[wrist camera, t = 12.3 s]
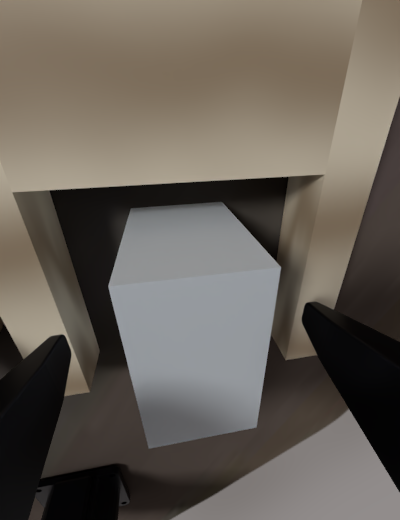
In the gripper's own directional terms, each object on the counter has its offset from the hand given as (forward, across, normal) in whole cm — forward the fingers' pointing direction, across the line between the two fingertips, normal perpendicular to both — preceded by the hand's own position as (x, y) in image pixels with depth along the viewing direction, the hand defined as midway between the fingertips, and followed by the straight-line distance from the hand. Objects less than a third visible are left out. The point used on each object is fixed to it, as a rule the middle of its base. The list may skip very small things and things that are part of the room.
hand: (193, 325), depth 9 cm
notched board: (+4, 0, -2) cm, 4 cm away
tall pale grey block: (+4, 0, 0) cm, 4 cm away
